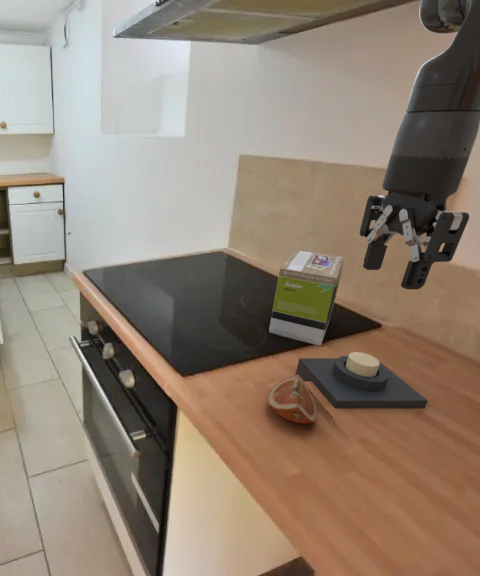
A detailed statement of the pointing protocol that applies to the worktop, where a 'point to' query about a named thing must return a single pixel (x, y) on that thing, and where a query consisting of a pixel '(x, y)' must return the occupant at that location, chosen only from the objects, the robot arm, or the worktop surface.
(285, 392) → the fruit slice
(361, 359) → the button
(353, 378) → the dark grey button base
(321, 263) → the tea box
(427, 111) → the robot arm
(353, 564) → the worktop surface
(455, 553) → the worktop surface
